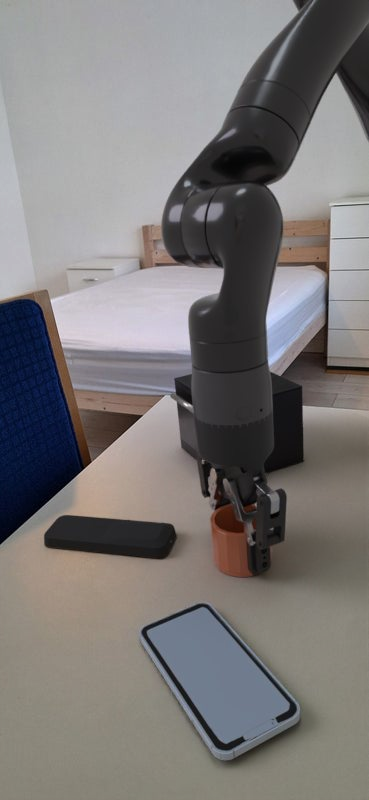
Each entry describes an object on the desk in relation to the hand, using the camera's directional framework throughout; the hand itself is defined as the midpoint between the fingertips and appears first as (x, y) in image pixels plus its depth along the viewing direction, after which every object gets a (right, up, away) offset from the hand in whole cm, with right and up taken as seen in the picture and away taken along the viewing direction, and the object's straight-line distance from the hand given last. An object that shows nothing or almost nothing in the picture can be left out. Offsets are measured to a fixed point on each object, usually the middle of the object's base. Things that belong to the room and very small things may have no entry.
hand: (242, 553), depth 63 cm
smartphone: (-4, -6, -14) cm, 16 cm away
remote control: (-15, 0, +6) cm, 16 cm away
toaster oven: (+2, +8, +23) cm, 24 cm away
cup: (0, -1, 0) cm, 1 cm away
